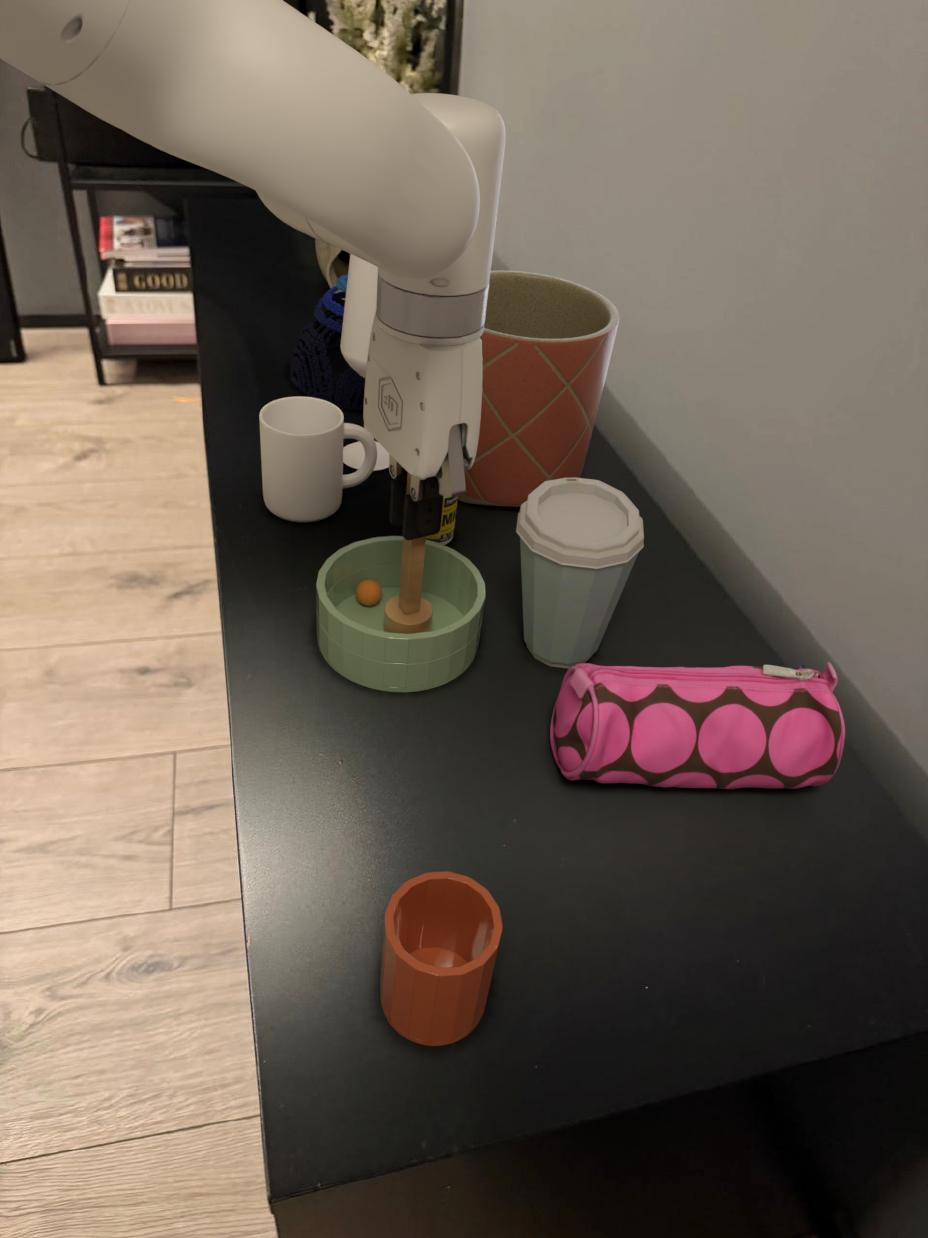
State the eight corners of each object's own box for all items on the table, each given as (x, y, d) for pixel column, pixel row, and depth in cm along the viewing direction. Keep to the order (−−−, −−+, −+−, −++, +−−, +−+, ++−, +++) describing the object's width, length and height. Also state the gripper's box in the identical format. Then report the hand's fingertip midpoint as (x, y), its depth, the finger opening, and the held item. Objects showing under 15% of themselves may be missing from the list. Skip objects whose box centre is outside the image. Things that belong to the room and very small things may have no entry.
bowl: (360, 713, 75) (361, 658, 71) (291, 610, 84) (290, 557, 80) (508, 663, 81) (517, 611, 78) (430, 573, 91) (434, 522, 87)
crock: (411, 1066, 54) (420, 996, 48) (361, 972, 58) (365, 898, 53) (506, 1015, 56) (524, 944, 51) (452, 929, 61) (464, 855, 56)
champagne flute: (406, 464, 106) (420, 252, 91) (353, 475, 103) (358, 257, 88) (382, 437, 111) (391, 230, 95) (329, 446, 108) (330, 234, 93)
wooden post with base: (397, 650, 79) (408, 486, 69) (375, 622, 82) (383, 459, 71) (439, 637, 81) (456, 475, 71) (417, 610, 84) (430, 449, 73)
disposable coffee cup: (628, 684, 81) (669, 544, 71) (509, 689, 79) (534, 545, 69) (597, 608, 89) (629, 472, 79) (487, 610, 87) (507, 472, 77)
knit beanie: (316, 419, 113) (316, 303, 103) (273, 351, 126) (269, 243, 117) (465, 402, 120) (477, 292, 111) (409, 340, 134) (415, 237, 124)
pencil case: (780, 717, 80) (819, 628, 73) (827, 806, 72) (875, 716, 66) (538, 721, 76) (557, 629, 70) (561, 815, 69) (585, 721, 63)
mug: (367, 477, 103) (370, 392, 97) (384, 518, 97) (388, 430, 91) (258, 485, 100) (254, 397, 93) (269, 528, 94) (265, 437, 87)
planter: (606, 515, 102) (646, 342, 89) (438, 521, 98) (455, 340, 85) (558, 431, 116) (587, 271, 104) (409, 433, 112) (420, 267, 99)
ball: (368, 606, 83) (349, 589, 83) (369, 614, 85) (351, 597, 85) (386, 587, 83) (367, 570, 84) (387, 596, 86) (369, 579, 86)
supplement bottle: (445, 552, 94) (452, 481, 88) (401, 541, 94) (406, 469, 89) (459, 528, 97) (467, 458, 92) (417, 518, 98) (422, 447, 93)
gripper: (333, 268, 66) (331, 489, 78) (439, 356, 56) (419, 594, 68) (425, 260, 69) (410, 472, 81) (540, 341, 60) (504, 570, 71)
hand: (414, 526), depth 74 cm, fingers closed on wooden post with base, 1 cm apart
